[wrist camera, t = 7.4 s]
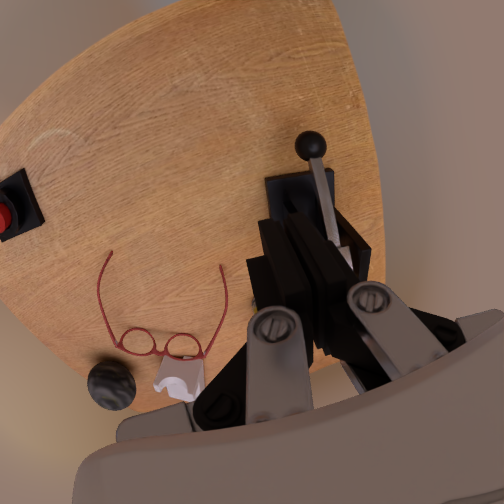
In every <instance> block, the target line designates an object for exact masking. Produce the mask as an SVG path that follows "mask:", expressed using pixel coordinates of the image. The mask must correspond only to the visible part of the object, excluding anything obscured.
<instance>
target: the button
mask: <svg viewBox="0 0 504 504" xmlns="http://www.w3.org/2000/svg"><path fill="white" fill-rule="evenodd" d="M11 220H12V217H11V213H10V211H9V209H8V207H7V206H6V205H5V204H4V203H0V233H2V232H4V230H5V229H6V228H7V227H8V226H9V225H10V224H11Z"/></svg>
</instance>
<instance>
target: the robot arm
mask: <svg viewBox="0 0 504 504" xmlns="http://www.w3.org/2000/svg"><path fill="white" fill-rule="evenodd" d="M258 225H259V231H260V236H261V241H262V247H263V252H264V255H263V256H259V257H255V258H250V259H246V262H247V267H248V271H249V276H250V280H251V285H252V289H253V294H254V298H255V303H256V307H257V313H255V314H254V315H253V316H252V318H251V319H250V321H249V323H248V327H247V342H246V343H245V344H244V345H243V347H242V348H241V349H240V350H239V351H238V352H237V353H236V355H235V356H234V357H233V358H232V359H231V360H230V361H229V362H228V364H227V365H226V366H225V367H224V368H223V369H222V370H221V371H220V372H219V374H218V375H217V376H216V377H215V378H214V379H213V380H212V381H211V382H210V383H209V384H208V386H207V387H206V388H205V389H204V390H203V391H202V392H201V393H200V394H199V395H198V397H197V398H196V400H195V401H192V402H189V403H185V402H184V401H183V402H180V403H177V404H174V405H170V406H167V407H164V408H160V409H157V410H154V411H150V412H147V413H143V414H139V415H136V416H132V417H129V418H127V419H124V420H123V421H122V422H121V423H120V424H119V426H118V428H117V431H116V442H117V443H114V444H111V445H108V446H106V447H104V448H101V449H99V450H97V451H95V452H94V453H92V454H90V455H89V456H88V457H87V458H85V459H84V461H83V462H82V463H81V465H80V467H79V468H78V471H77V474H76V478H75V482H74V488H73V497H72V504H504V313H503V312H502V311H500V310H497V309H491V310H488V311H484V312H481V313H477V314H473V315H469V316H465V317H460V318H456V320H455V322H453V321H452V320H449V319H447V318H444V317H440V316H437V315H433V314H430V313H427V312H423V311H420V310H417V309H413V308H410V307H407V306H406V304H404V302H403V301H402V300H401V299H400V298H399V297H398V296H397V295H396V294H395V293H394V292H393V291H392V290H391V289H390V288H389V287H387V286H386V285H385V284H382V283H380V282H376V281H363V282H360V280H359V279H358V277H357V276H356V274H355V273H354V271H353V270H352V268H351V267H350V265H349V264H348V262H347V261H346V260H345V258H344V257H343V255H342V254H341V252H340V251H339V250H338V248H337V247H336V245H335V244H334V243H333V241H332V240H327V241H323V240H322V239H321V238H320V236H319V235H318V233H317V232H316V230H315V229H314V227H313V226H312V224H311V223H310V221H309V220H308V219H307V217H306V216H305V214H304V213H303V212H297V213H292V214H288V215H287V219H283V226H284V229H283V227H282V225H281V223H280V221H279V220H278V221H274V220H273V218H269V219H265V220H260V221H258ZM313 340H314V342H315V345H316V347H317V349H320V348H322V349H323V351H324V354H325V356H327V355H330V354H331V355H332V357H335V358H337V359H340V363H341V365H342V367H343V369H344V370H345V372H346V374H347V375H348V377H349V378H350V380H351V382H352V383H353V385H354V386H355V388H356V390H357V391H358V393H359V395H357V396H354V397H351V398H348V399H346V400H343V401H340V402H337V403H334V404H331V405H327V406H324V407H321V408H317V409H314V407H313V399H312V391H311V384H310V376H309V368H310V366H311V365H312V363H313Z"/></svg>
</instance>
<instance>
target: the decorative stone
mask: <svg viewBox="0 0 504 504" xmlns="http://www.w3.org/2000/svg"><path fill="white" fill-rule="evenodd" d="M87 384H88V385H87V386H88V391H89V393H90V395H91V397H92V398H93V400H94V401H95V402H96V403H98V405H100V406H101V407H103V408H105V409H108V410H113V411H117V410H122V409H124V408H126V407H128V406H129V405H130V404H131V403H132V401H133V400H134V398H135V395H136V384H135V380H134V378H133V376H132V374H131V373H130V372H129V370H128V369H127V368H125V367H124V366H123V365H121V364H119V363H116V362H111V361H105V362H101V363H99V364H97V365H96V366H94V367H93V368H92V370H91V371H90V373H89V375H88V382H87Z"/></svg>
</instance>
